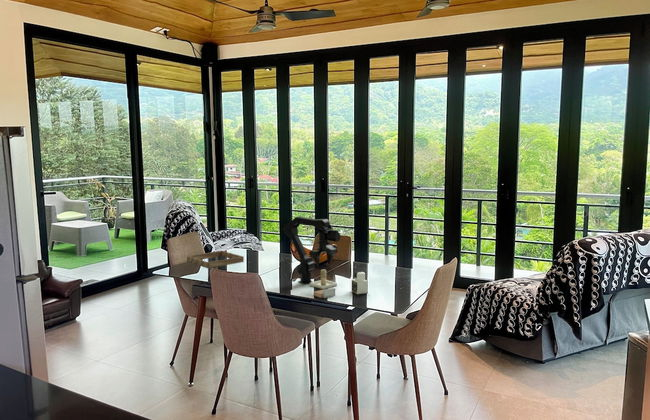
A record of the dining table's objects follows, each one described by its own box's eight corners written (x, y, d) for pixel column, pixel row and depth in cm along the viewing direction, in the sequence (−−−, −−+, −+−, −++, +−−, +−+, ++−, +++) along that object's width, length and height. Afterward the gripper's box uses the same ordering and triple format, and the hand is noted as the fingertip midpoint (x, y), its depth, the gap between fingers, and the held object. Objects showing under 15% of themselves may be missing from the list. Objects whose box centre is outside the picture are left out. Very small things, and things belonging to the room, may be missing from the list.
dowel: (319, 284, 301) (319, 270, 300) (323, 283, 304) (323, 269, 302) (323, 285, 299) (323, 271, 298) (327, 284, 301) (327, 270, 300)
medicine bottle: (351, 291, 290) (351, 271, 289) (362, 289, 293) (362, 269, 291) (356, 294, 284) (357, 273, 282) (367, 292, 286) (368, 272, 285)
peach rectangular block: (314, 295, 282) (314, 291, 282) (323, 293, 286) (323, 289, 286) (320, 298, 277) (320, 294, 277) (330, 296, 282) (330, 291, 281)
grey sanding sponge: (322, 297, 277) (322, 290, 277) (332, 294, 283) (332, 287, 282) (325, 298, 276) (325, 291, 275) (335, 295, 281) (335, 288, 281)
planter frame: (187, 261, 365) (186, 256, 364) (221, 255, 385) (221, 250, 384) (208, 268, 344) (208, 262, 343) (243, 261, 364) (243, 256, 364)
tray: (309, 285, 301) (309, 282, 301) (323, 282, 309) (323, 279, 309) (323, 289, 293) (323, 286, 293) (337, 285, 301) (337, 282, 301)
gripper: (321, 244, 286) (321, 270, 287) (344, 239, 298) (343, 265, 300) (308, 241, 294) (308, 267, 295) (330, 237, 306) (330, 262, 308)
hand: (323, 265), depth 300 cm, fingers open, 9 cm apart
